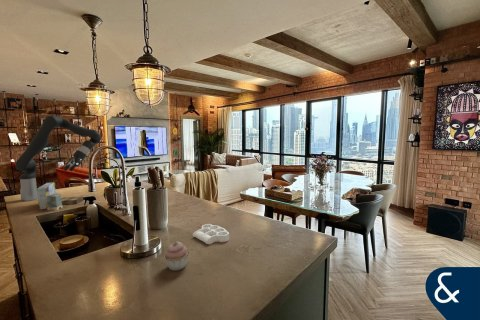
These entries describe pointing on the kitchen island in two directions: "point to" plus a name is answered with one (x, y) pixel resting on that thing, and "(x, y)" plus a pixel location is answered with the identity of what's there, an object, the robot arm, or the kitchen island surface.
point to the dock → (71, 200)
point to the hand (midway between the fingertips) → (67, 170)
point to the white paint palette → (211, 234)
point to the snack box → (45, 194)
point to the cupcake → (176, 256)
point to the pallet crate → (54, 201)
